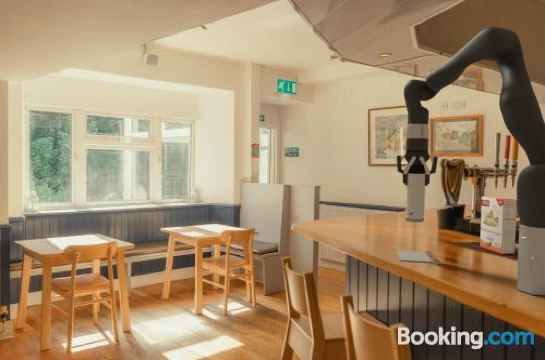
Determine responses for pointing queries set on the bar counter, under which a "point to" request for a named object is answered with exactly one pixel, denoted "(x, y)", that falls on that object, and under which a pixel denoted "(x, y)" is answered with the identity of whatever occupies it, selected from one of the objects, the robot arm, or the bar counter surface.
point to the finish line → (434, 258)
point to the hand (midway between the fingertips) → (415, 185)
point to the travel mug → (415, 193)
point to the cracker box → (498, 224)
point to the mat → (413, 257)
